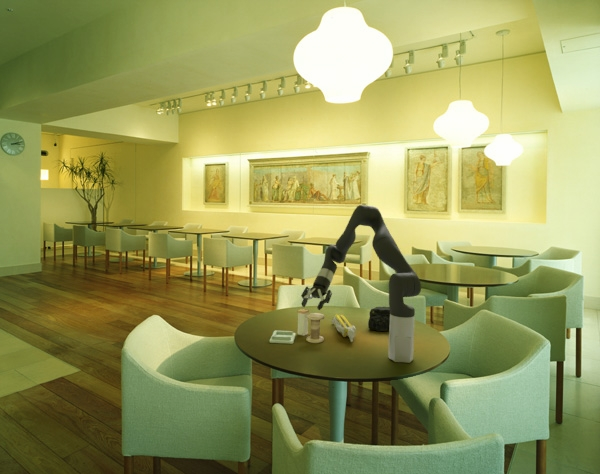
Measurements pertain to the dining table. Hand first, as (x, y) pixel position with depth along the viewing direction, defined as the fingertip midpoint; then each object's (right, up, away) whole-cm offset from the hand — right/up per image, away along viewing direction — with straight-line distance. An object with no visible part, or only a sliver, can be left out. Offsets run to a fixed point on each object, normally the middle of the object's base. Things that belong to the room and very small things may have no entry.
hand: (310, 307), depth 194 cm
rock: (+37, -11, +7) cm, 40 cm away
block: (-4, -11, -4) cm, 13 cm away
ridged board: (-12, -12, -12) cm, 21 cm away
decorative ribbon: (+15, -12, -1) cm, 20 cm away
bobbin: (+2, -12, -13) cm, 18 cm away
